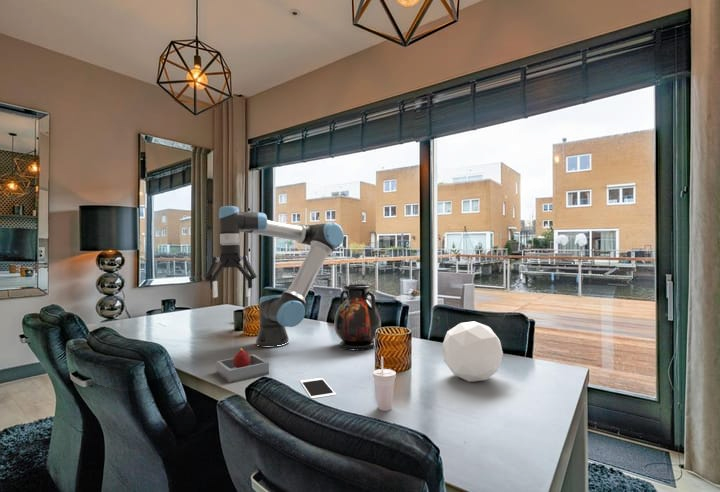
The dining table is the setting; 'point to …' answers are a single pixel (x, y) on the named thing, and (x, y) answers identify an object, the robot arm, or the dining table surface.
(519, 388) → the dining table surface
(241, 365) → the onion
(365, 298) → the amphora vase
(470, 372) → the geometric orb
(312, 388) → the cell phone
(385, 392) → the smoothie
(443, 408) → the dining table surface
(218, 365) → the box
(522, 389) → the dining table surface
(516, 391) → the dining table surface
